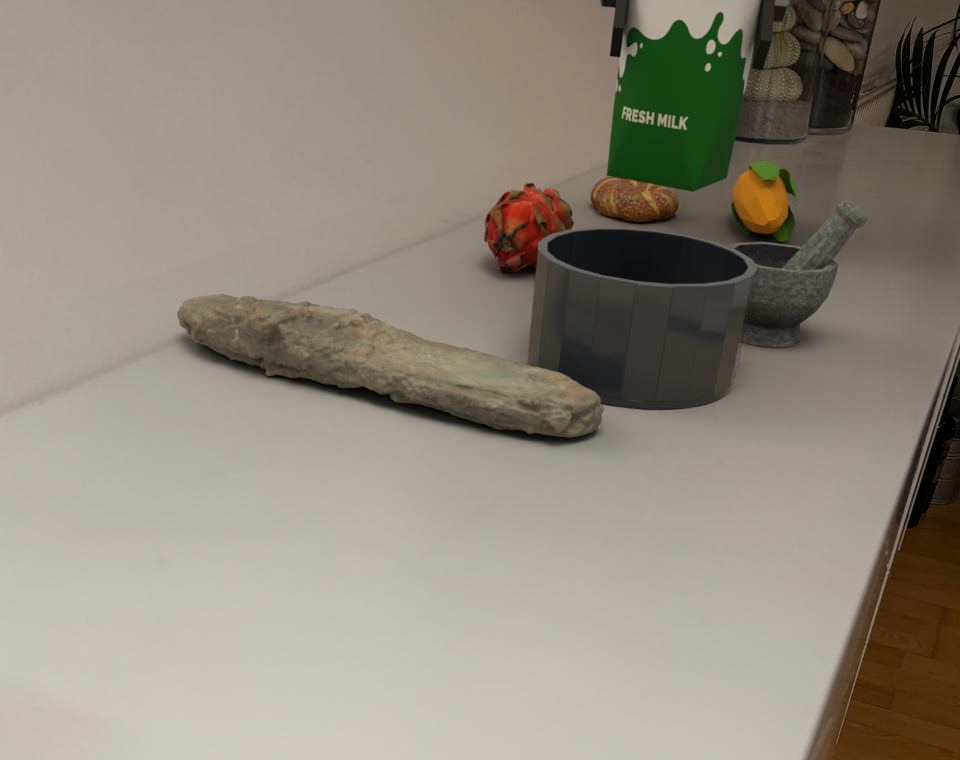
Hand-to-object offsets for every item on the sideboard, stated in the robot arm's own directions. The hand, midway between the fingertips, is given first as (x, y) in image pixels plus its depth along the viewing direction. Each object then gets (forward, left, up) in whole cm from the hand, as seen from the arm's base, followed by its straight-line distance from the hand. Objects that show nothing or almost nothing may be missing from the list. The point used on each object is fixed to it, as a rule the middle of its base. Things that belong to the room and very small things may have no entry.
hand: (688, 48), depth 74 cm
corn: (-1, -53, -23) cm, 58 cm away
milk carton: (+1, -3, -9) cm, 10 cm away
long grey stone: (+17, +14, -23) cm, 31 cm away
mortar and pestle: (-8, -14, -23) cm, 28 cm away
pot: (+1, +1, -23) cm, 23 cm away
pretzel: (+15, -54, -23) cm, 61 cm away
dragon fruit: (+18, -22, -23) cm, 36 cm away
